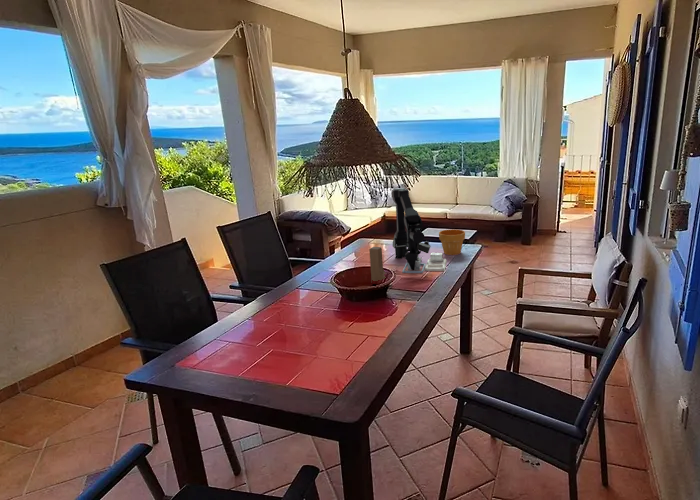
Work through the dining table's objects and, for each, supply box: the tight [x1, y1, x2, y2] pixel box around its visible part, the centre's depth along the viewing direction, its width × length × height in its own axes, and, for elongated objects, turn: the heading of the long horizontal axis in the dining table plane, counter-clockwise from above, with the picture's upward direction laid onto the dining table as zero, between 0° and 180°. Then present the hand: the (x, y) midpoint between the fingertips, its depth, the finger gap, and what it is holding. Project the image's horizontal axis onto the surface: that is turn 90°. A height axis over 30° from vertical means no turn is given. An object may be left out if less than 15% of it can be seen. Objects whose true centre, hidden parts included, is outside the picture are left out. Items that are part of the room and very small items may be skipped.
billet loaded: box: [429, 252, 444, 262], centre depth 226 cm, size 6×4×5 cm, turn 74°
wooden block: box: [369, 246, 386, 281], centre depth 202 cm, size 9×4×18 cm, turn 59°
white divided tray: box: [424, 258, 448, 272], centre depth 222 cm, size 10×17×2 cm, turn 164°
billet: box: [407, 259, 422, 271], centre depth 220 cm, size 6×4×5 cm, turn 74°
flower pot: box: [438, 228, 466, 256], centre depth 241 cm, size 14×14×13 cm
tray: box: [402, 262, 427, 274], centre depth 220 cm, size 10×13×2 cm
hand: (414, 267), depth 220 cm, fingers open, 8 cm apart
